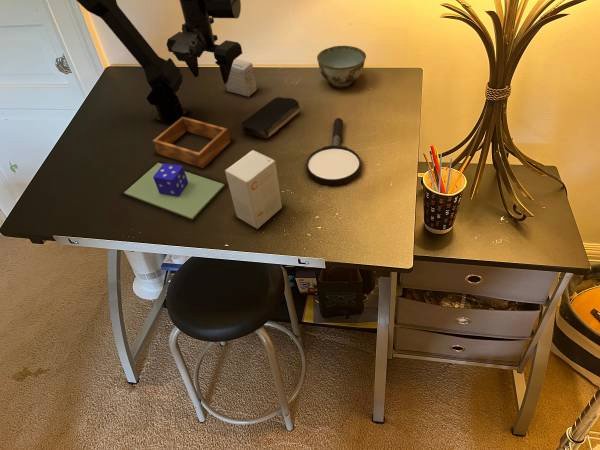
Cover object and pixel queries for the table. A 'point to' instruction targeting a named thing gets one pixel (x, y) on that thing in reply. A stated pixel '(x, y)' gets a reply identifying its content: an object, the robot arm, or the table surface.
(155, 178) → the die
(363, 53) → the bowl
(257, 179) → the small box
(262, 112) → the black sponge
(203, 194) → the mat
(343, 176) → the magnifying glass
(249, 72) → the medicine box
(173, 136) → the pine box
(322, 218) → the table surface
